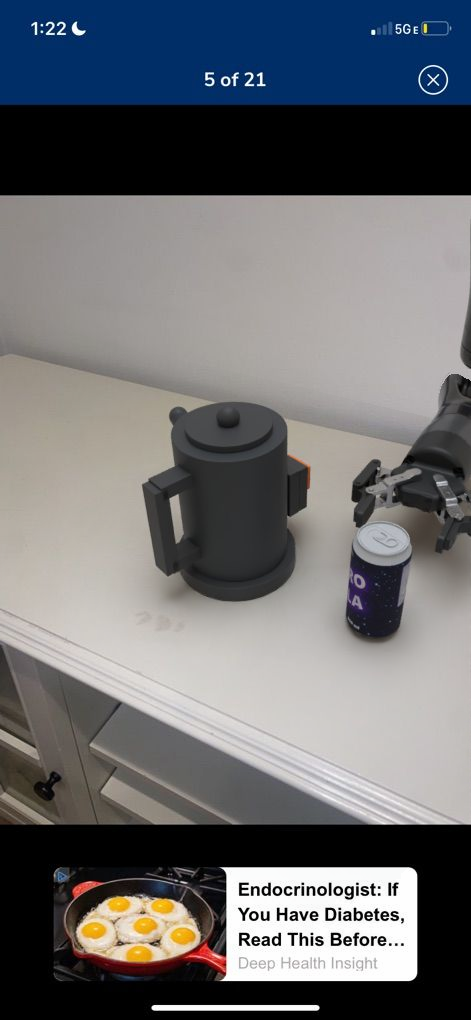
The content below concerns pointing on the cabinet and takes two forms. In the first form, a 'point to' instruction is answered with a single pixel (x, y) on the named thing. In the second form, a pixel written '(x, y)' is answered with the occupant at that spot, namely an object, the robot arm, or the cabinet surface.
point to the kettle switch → (308, 471)
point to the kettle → (228, 501)
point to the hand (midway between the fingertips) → (398, 534)
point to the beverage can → (378, 578)
